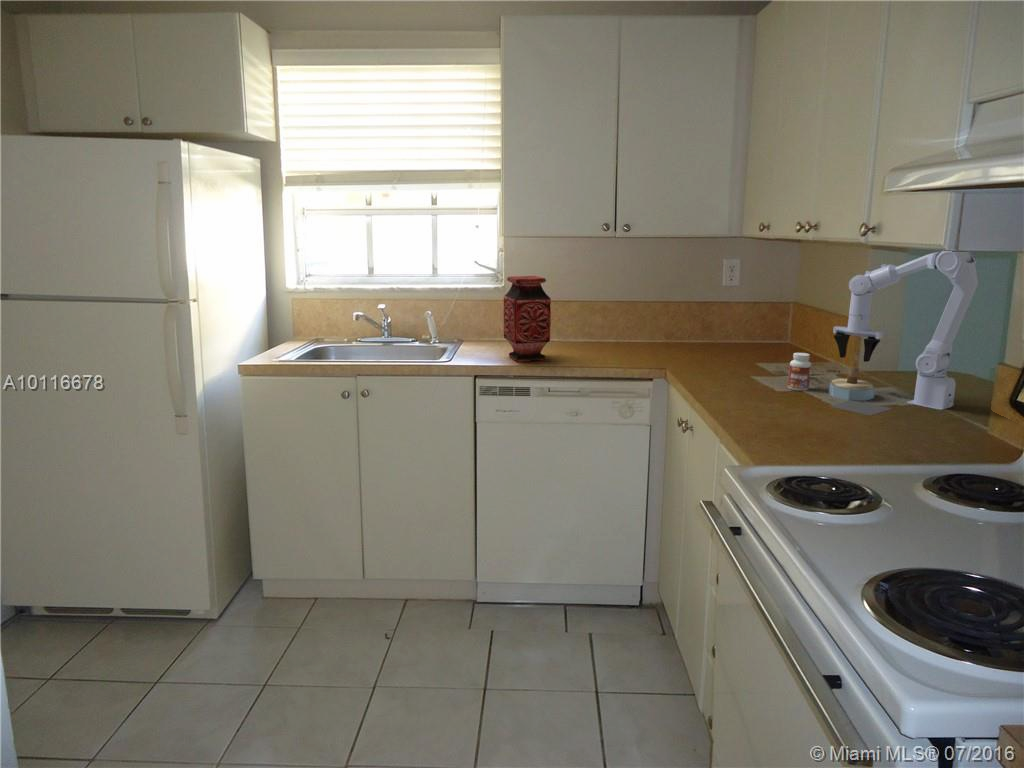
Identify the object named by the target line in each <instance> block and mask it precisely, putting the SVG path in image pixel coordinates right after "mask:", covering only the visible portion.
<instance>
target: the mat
mask: <svg viewBox="0 0 1024 768" xmlns="http://www.w3.org/2000/svg"><path fill="white" fill-rule="evenodd" d="M828 407H829V408H835V409H838V410H842V411H847V412H852V413H855V414H862V415H863V416H864V415H865V416H868V417H869V416H873V415H877V414H881V413H884V412H887V411H891V410H893V408H890V407H886V406H881V405H877V404H873V403H868V402H863V401H860V400H845V401H843V402H839V403H835V404H831V405H828Z"/></svg>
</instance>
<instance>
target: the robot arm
mask: <svg viewBox="0 0 1024 768" xmlns="http://www.w3.org/2000/svg"><path fill="white" fill-rule="evenodd" d="M976 261H977V260H976V258H975V257H974V256H973V255H972V253H971V252H970V251H969V252H952V251H944V250H942V251H936V252H932V253H928V254H925V255H924V256H920V257H919V258H918V257H917V258H916V259H913V260H910V261H907V262H905V263H902V264H900V265H898V266H896V265H894V264H888V263H884V264H881V266H880V267H879V268H877V269H875V270H872V271H871V270H866V271H865V273H864V274H857V275H855V276H853V277H852V278H850V280H849V282H848V289H849V291H850V292H851V295H850V302H849V304H850V305H849V311H848V312H849V313H848V320H847V321H848V322H847V326H841V325H840V326H839V325H838V326H837V325H836V326H833V330H832V331H833V332H832V333H833V334H834V335H833V338H834V340H835V342H836V344H837V348H838V353H839V358H840V359H842V358H843V359H844V358H846V356H847V350H848V349H847V348H848V343H849V340H850V337H851V336H857V337H861V338H862V337H863V343H864V351H863V352H864V353H863V362H865V363H867V362H870V360H871V358H872V356H873V353H874V350H875V349H876V347H877V345H878V344H879V343H880V341H881V340H883V337H884V336H883V334H884V332H882V331H876V330H872V329H869V326H870V325H869V324H870V317H871V310H872V309H871V308H872V301H873V299H872V297H873V293H874V292H875V291H878V290H880V289H884V288H886V287H890V286H892V285H895V284H898V283H899V281H900V280H901V278H902V277H905V276H908V275H911V274H914V273H917V272H921V271H923V270H926V269H931V270H938V271H939V272H940V273H942V274H944V275H945V276H946V277H947V278H948V280H949V281H950V283H951V284H952V286H953V289H952V291H951V294H950V296H949V298H948V301H947V302H946V305H945V307H944V310H943V313H942V315H941V317H940V320H939V321H938V325H937V327H936V328H935V332H934V333H933V336H932V338H931V340H930V342H929V343H927V345H926V346H925V348H924V350H923V352H922V353H921V354H920V355H918V356H917V358H916V360H915V368H916V370H917V375H916V382H915V388H914V389H915V390H914V395H913V399H912V400H909V401H907V403H906V404H910V405H915V406H920V407H925V408H930V409H934V410H935V409H936V410H939V411H940V410H941V411H942V410H945V409H949V408H953V407H954V406H953V405H954V399H955V392H956V387H957V386H956V380H955V378H953V377H949V376H947V369H948V368H949V367H950V366H951V364H952V352H953V350H954V348H953V343H954V340H955V338H956V336H957V333H958V332H959V329H960V327H961V324H962V322H963V320H964V317H965V315H966V314H967V312H968V308H969V306H970V304H971V302H972V299H973V298H974V295H975V292H976V290H977V287H978V286H979V280H978V274H977V269H976V263H977V262H976ZM952 406H953V407H952Z"/></svg>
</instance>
